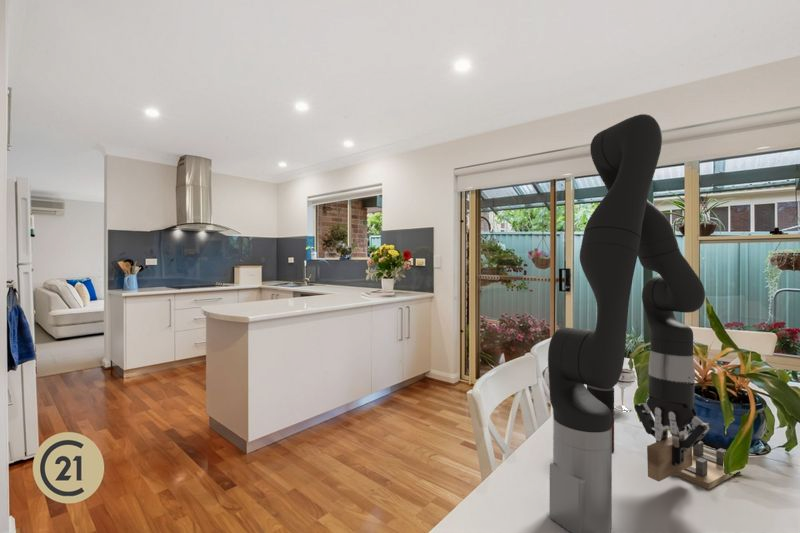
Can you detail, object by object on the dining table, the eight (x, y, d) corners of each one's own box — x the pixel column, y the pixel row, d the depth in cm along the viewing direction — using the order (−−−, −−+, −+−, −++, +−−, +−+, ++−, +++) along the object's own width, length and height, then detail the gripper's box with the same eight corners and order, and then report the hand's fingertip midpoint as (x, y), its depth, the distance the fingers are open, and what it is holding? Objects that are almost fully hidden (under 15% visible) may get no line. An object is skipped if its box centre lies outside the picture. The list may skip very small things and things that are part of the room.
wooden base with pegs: (709, 489, 74) (709, 468, 74) (660, 467, 82) (660, 448, 82) (740, 471, 81) (740, 452, 81) (692, 453, 89) (692, 435, 89)
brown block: (661, 483, 71) (660, 451, 71) (647, 476, 73) (647, 446, 73) (695, 466, 76) (694, 437, 76) (681, 460, 78) (680, 432, 78)
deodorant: (586, 450, 90) (586, 388, 90) (587, 440, 95) (587, 381, 95) (614, 456, 87) (614, 392, 87) (613, 445, 93) (613, 385, 93)
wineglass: (640, 410, 116) (640, 372, 116) (625, 413, 113) (625, 374, 113) (619, 403, 122) (620, 366, 122) (605, 406, 119) (605, 368, 119)
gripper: (625, 368, 79) (624, 450, 79) (701, 386, 67) (699, 483, 67) (646, 366, 83) (645, 444, 82) (721, 382, 71) (720, 475, 70)
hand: (669, 461), depth 75 cm, fingers closed on brown block, 2 cm apart
